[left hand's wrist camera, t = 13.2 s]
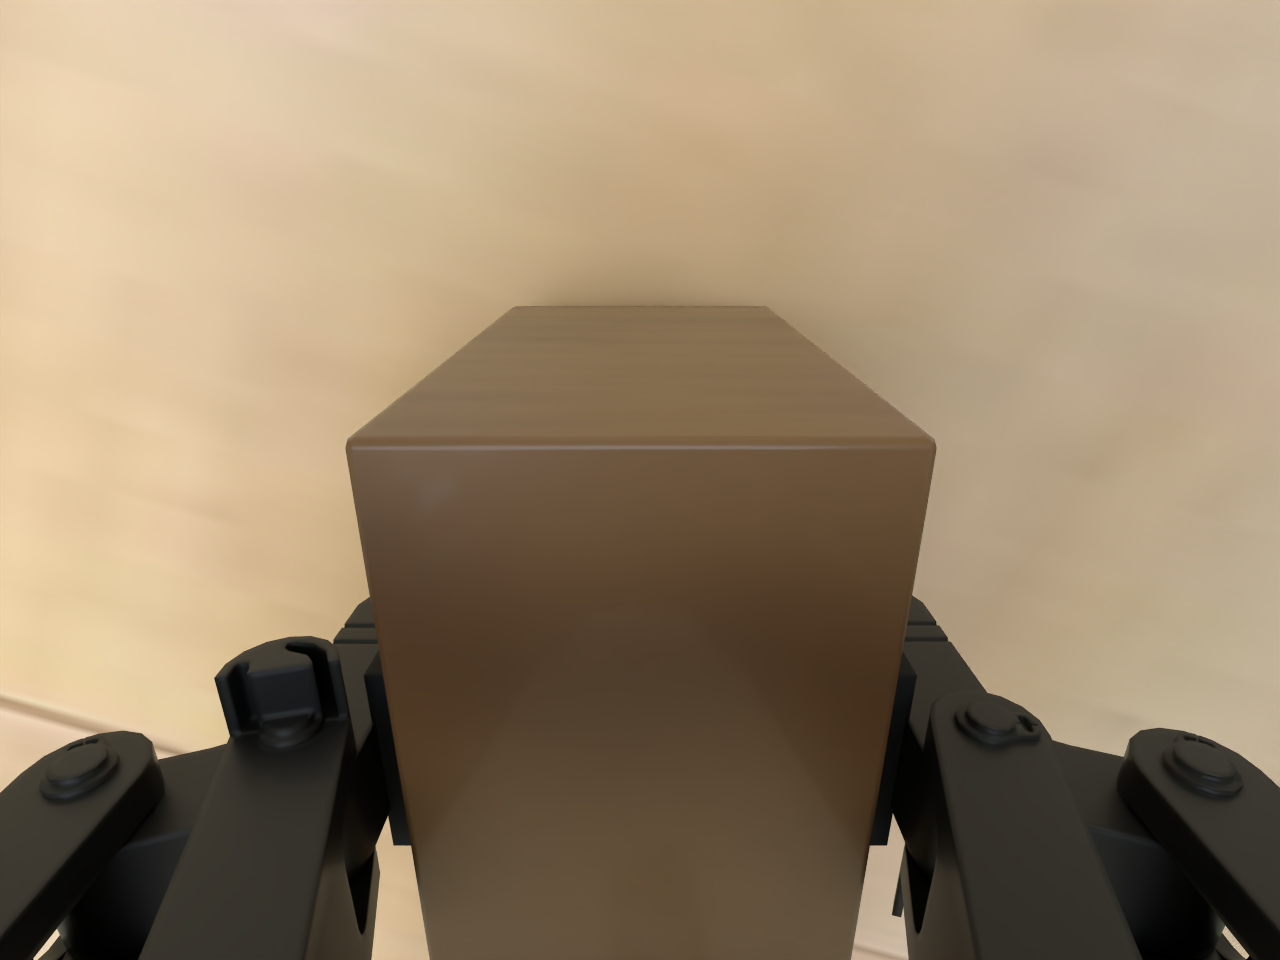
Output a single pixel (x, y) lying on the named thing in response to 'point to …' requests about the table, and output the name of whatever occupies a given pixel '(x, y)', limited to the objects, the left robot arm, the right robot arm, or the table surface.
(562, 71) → the table surface
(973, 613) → the table surface
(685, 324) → the bar
